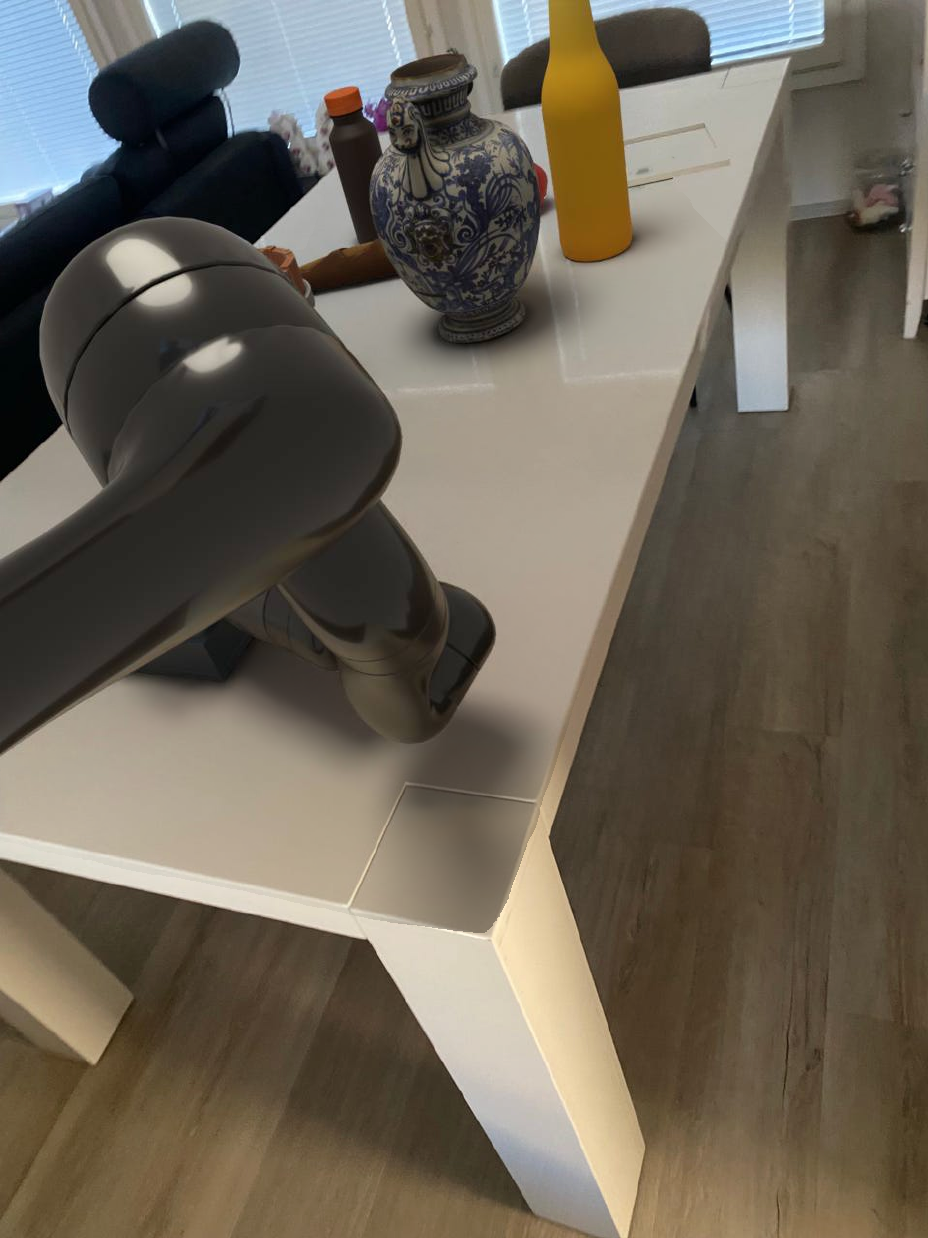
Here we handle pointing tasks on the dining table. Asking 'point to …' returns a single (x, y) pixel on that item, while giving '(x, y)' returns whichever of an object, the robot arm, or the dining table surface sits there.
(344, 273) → the bread
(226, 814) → the dining table surface
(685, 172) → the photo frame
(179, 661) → the tray
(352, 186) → the vinegar
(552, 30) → the beer bottle
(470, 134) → the decorative vase
